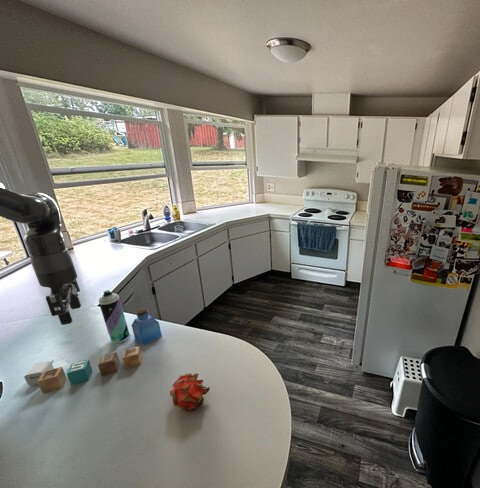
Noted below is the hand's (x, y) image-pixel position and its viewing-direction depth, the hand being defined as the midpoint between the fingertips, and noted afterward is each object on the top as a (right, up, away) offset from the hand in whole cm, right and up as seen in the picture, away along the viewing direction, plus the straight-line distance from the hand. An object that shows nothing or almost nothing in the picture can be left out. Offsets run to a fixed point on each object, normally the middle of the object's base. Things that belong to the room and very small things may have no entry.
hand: (72, 315), depth 75 cm
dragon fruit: (+38, -23, -4) cm, 45 cm away
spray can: (0, -14, +18) cm, 23 cm away
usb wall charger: (-11, -19, +2) cm, 22 cm away
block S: (+1, -20, +2) cm, 20 cm away
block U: (+8, -19, +5) cm, 21 cm away
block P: (+13, -18, +8) cm, 23 cm away
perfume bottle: (+10, -14, +19) cm, 25 cm away
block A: (-4, -20, -1) cm, 21 cm away
